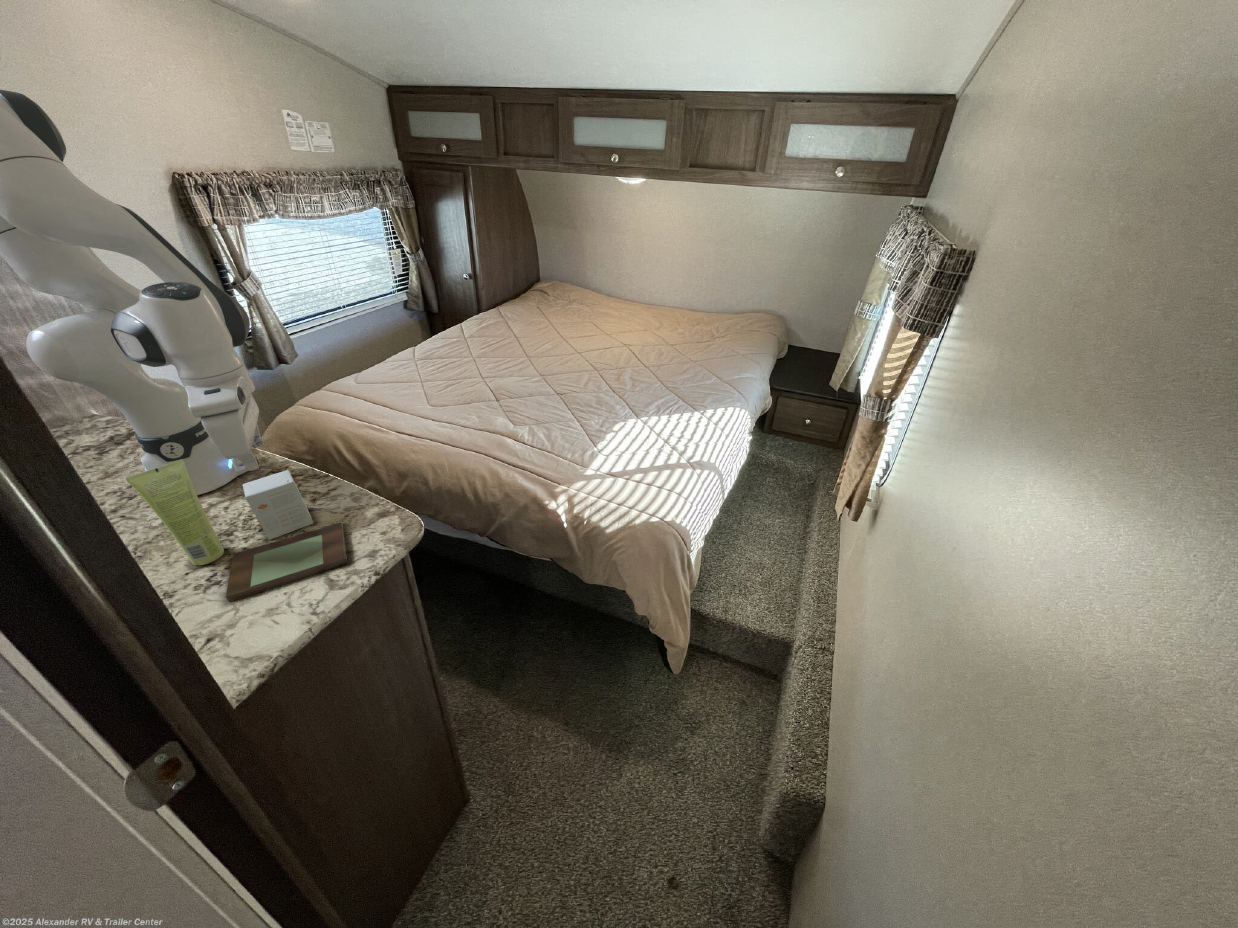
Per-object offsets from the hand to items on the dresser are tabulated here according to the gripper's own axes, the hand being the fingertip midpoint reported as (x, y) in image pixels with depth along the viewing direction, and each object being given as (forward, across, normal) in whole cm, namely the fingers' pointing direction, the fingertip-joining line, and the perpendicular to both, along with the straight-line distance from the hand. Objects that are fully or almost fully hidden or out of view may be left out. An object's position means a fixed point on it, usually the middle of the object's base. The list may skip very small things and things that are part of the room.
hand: (256, 456), depth 89 cm
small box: (+16, 0, 0) cm, 17 cm away
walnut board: (+16, +12, 0) cm, 20 cm away
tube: (+16, +2, -13) cm, 21 cm away
